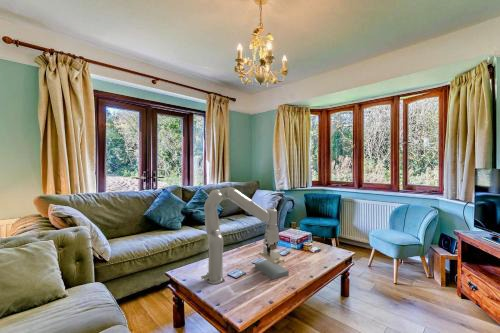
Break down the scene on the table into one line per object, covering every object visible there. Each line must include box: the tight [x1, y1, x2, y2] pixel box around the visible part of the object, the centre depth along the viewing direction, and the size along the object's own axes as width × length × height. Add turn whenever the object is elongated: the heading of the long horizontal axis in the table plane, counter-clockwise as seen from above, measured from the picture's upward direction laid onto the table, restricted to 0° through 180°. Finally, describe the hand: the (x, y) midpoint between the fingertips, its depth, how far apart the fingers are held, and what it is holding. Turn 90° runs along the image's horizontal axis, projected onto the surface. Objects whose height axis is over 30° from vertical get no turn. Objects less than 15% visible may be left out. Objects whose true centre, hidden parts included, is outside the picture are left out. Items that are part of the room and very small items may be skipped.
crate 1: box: [262, 245, 267, 255], centre depth 170 cm, size 5×5×5 cm
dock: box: [255, 259, 290, 280], centre depth 166 cm, size 14×22×4 cm, turn 30°
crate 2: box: [270, 248, 281, 260], centre depth 162 cm, size 5×5×5 cm
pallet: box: [258, 243, 285, 265], centre depth 166 cm, size 8×20×10 cm, turn 30°
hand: (271, 251), depth 166 cm, fingers closed on pallet, 4 cm apart
